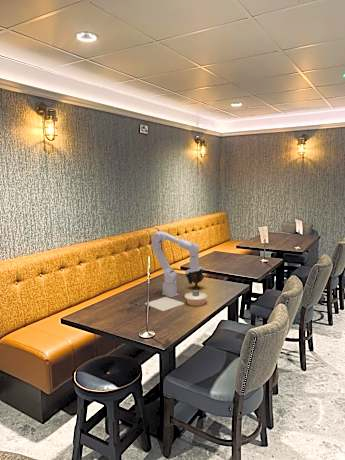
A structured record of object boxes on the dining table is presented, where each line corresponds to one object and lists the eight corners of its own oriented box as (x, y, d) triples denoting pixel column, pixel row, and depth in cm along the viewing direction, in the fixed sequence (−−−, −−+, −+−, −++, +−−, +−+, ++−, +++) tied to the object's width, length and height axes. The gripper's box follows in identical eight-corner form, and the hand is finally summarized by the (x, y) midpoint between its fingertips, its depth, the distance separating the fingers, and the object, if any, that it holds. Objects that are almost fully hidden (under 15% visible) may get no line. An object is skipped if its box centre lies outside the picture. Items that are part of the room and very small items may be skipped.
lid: (180, 296, 229) (179, 290, 228) (195, 291, 238) (195, 286, 237) (196, 301, 218) (196, 296, 218) (211, 296, 228) (211, 290, 227)
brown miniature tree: (203, 291, 252) (203, 270, 250) (187, 290, 255) (187, 269, 252) (205, 286, 263) (204, 266, 260) (189, 285, 265) (189, 265, 263)
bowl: (183, 303, 229) (183, 296, 228) (195, 299, 236) (195, 292, 236) (196, 307, 221) (196, 300, 220) (208, 303, 228) (208, 296, 228)
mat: (144, 304, 229) (144, 303, 229) (165, 297, 241) (165, 296, 241) (163, 311, 216) (163, 311, 216) (184, 304, 228) (184, 303, 228)
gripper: (190, 265, 229) (191, 286, 231) (206, 261, 239) (206, 281, 241) (183, 263, 234) (183, 283, 236) (198, 259, 244) (198, 279, 246)
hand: (194, 282), depth 239 cm, fingers open, 7 cm apart
